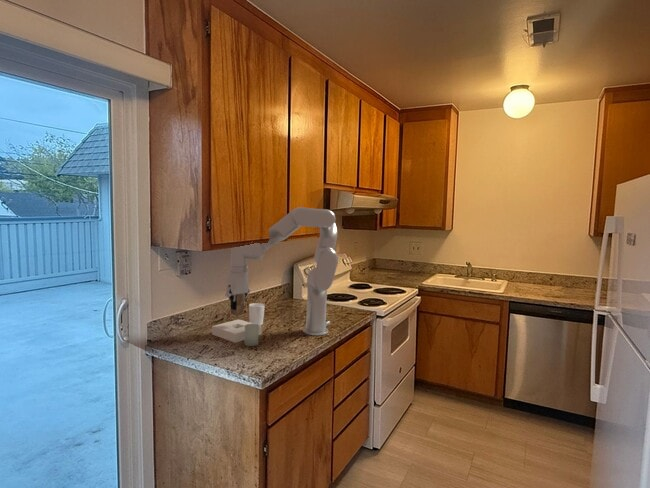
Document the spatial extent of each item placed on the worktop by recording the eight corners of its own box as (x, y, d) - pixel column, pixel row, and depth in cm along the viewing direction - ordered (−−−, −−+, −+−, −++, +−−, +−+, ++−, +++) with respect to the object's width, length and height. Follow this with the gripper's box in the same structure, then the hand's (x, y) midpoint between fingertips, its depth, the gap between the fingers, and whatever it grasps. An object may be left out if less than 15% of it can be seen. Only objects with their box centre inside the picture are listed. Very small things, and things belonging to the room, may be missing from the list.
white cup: (251, 326, 194) (252, 307, 193) (246, 322, 201) (246, 303, 200) (266, 325, 198) (267, 305, 197) (260, 321, 205) (261, 302, 204)
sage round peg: (251, 340, 174) (252, 323, 173) (261, 343, 171) (261, 325, 170) (241, 343, 169) (241, 325, 169) (250, 347, 166) (251, 328, 165)
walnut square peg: (237, 312, 183) (238, 291, 182) (243, 314, 181) (244, 292, 180) (230, 313, 180) (231, 292, 179) (236, 315, 178) (237, 294, 177)
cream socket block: (238, 327, 192) (238, 319, 192) (261, 334, 183) (261, 326, 183) (212, 334, 180) (212, 326, 179) (235, 342, 170) (235, 333, 170)
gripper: (246, 267, 188) (245, 304, 189) (218, 270, 174) (217, 310, 176) (257, 269, 183) (256, 307, 185) (229, 272, 170) (228, 313, 171)
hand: (237, 308), depth 180 cm, fingers closed on walnut square peg, 4 cm apart
